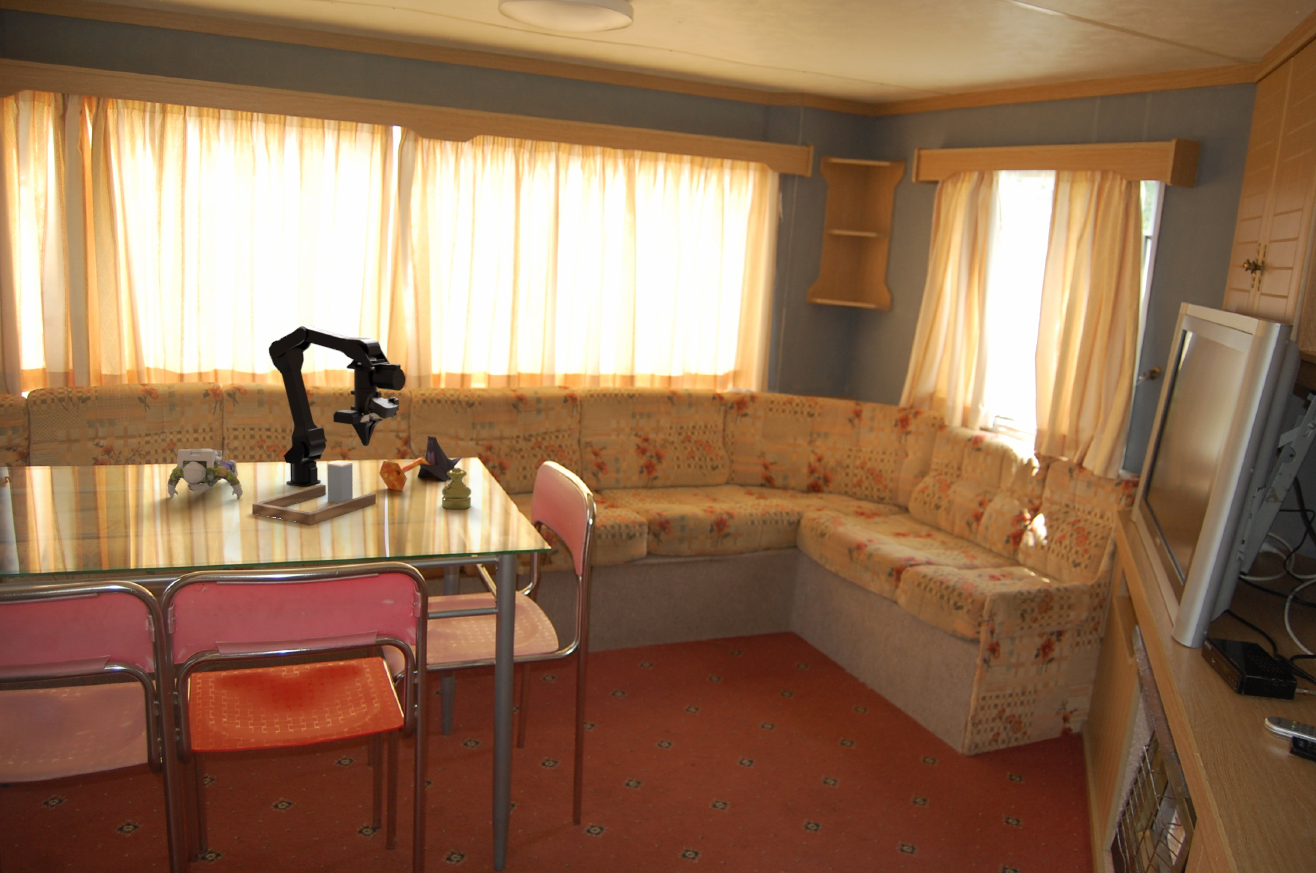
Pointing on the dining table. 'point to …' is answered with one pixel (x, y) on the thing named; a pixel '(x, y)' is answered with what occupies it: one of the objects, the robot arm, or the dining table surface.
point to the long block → (340, 481)
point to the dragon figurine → (431, 465)
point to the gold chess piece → (456, 491)
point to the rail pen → (276, 509)
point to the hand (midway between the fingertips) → (365, 445)
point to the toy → (203, 471)
